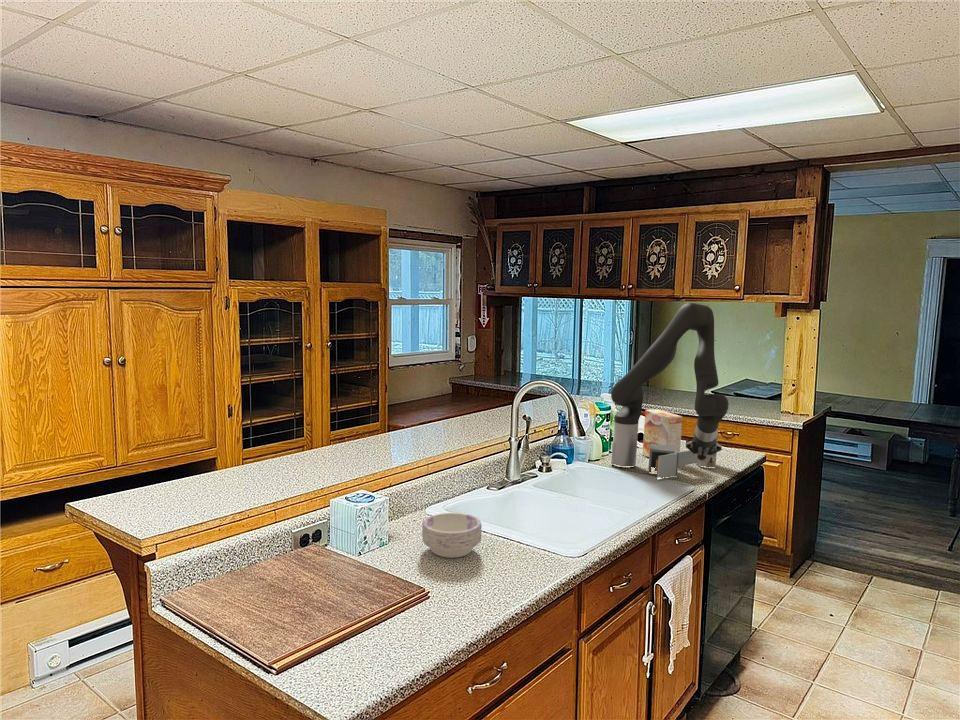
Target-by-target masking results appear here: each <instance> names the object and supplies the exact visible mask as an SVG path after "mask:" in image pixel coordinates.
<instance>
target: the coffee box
mask: <svg viewBox="0 0 960 720" xmlns="http://www.w3.org/2000/svg"><path fill="white" fill-rule="evenodd" d="M718 432H719V428H718ZM716 441H717V443H719V434H718V435H717V438H716ZM712 451H713V450H712ZM717 453H718V452H717ZM717 453H715V454H712V455H708V454H707V455H706V459H704V460H699V459H698V456H697V464H698V465H700V466H706V467H715V468H716V466H717V465H716V464H717V455H718V454H717ZM697 464H696V465H697ZM698 465H697V466H698Z"/></svg>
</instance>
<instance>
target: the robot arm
mask: <svg viewBox="0 0 960 720" xmlns="http://www.w3.org/2000/svg"><path fill="white" fill-rule="evenodd" d="M689 330H691V331H696V333H697V337H698V349H697V352H696V354H695V358H694V361H693V369H694V376H695V383H696V394H695V400H694V411H695V413H696V414H697V415H698V416H697V421H696V425H695V428H694V435H693V438H692V439H691V441H690V440H688V439H687V440H685V448H686V450H690V451H691V452H692V453H694V454H698V459H699V460H704V459H706V455H707V454H708V455H712V454H715V453H719V452H721V451H722V449H723V448H722V446H723V443H721V442H718V443H717V441H716V438H717V435H718V436H719V431H718V429H719V426H720V425H719V423H720V422H721V421H722V420H723V418H725V416H726V415H727V413H728V410H729V405H730V404H729V400H728V398H727V396H726V395H724V394H723V393H715V394H714V393H712V394H705V392H706V391H709V390H711V389H714V388H716V387H718V386H719V376H718V370H717V365H716V359H715V357H716V356H715V317H714V312H713V309H712V308H710V306H708V305H706V304H705V305H704V304H700V303H697V302H696V303H695V302H687V303H685V304H683V305H682V306H681V307H680V308H679V309H678V310H677V312H676V313H675V314H674V317H673V318H672V319H671V321H670V322H669V323H668V325H667V326H666V328H665V329H664V330H663V331H662V333H661V334H660V335H659V336H658V337H657V339H656V340H655V341H654V342H653V343H652V344H651V345H650V346H649V347H648V348H647V350H646V351H645V353H644V354H643V355H642V356H641V357H640V358H639V360H638V361H637V362H636V363H635V364H634V365H633V367H632V368H631V369H630V370H629V371H628V372H627V373H626V374H625V375H624V376H623V377H622V378H620V379H619V380H618V381H617V382H616V383H615V384H614V386H613V387H612V389H611V393H610V398H611V401H612V402H613V404H615V405H617V406H622V407H621V408H620V409H619V411H618V412H616V413H615V414H614V420H613V433H612V434H613V438H612V446H611V447H612V448H611V463H610V464H616V465H620V466H635V465H637V453H638V452H637V451H638V450H637V449H638V435H639V434H638V433H639V419H640V418H641V415H642V411H643V402H644V390H643V387H642V385H643V384H645V383H646V382H648V381H650V380H651V379H653V378H655V377H657V376H658V375H660V374H661V373H662V372H663V371H664V370H665V369H667V367H668V366H670V364H671V363H672V362H673V360H674V359H675V357H676V354H677V349H678V348H677V347H678V343H679V340H680V339H681V338H682V337H683V336H684V335H685V334H686V333H687V332H688V331H689ZM712 450H713V451H712Z"/></svg>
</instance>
